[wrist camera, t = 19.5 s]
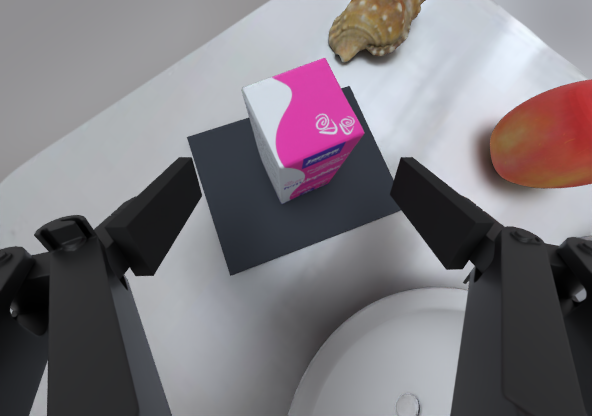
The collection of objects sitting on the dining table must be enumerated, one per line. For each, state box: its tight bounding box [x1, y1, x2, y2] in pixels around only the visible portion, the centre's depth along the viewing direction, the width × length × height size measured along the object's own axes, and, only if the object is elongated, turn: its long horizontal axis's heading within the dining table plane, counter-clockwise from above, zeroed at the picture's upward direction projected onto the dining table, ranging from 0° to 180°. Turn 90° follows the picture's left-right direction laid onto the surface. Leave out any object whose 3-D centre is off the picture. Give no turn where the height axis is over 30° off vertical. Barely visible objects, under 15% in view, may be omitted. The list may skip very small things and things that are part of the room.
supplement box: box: [242, 58, 364, 204], centre depth 18 cm, size 6×6×12 cm
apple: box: [490, 80, 592, 188], centre depth 21 cm, size 10×10×10 cm
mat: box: [187, 86, 401, 275], centre depth 24 cm, size 16×20×1 cm
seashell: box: [329, 0, 425, 62], centre depth 25 cm, size 9×8×10 cm
